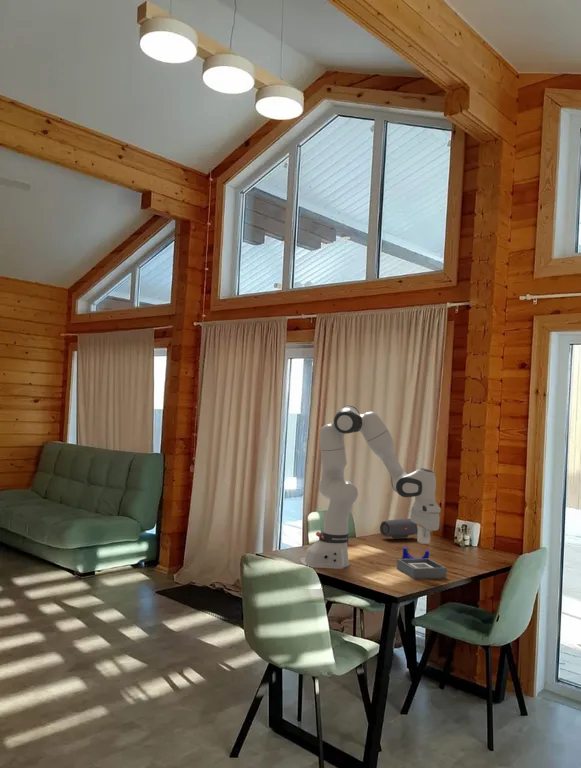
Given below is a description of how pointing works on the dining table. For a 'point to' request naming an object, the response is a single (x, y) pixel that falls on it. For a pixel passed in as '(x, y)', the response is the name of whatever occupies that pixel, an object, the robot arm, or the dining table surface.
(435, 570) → the storage box
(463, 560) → the dining table surface
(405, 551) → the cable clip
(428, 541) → the connector
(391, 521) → the bluetooth speaker
